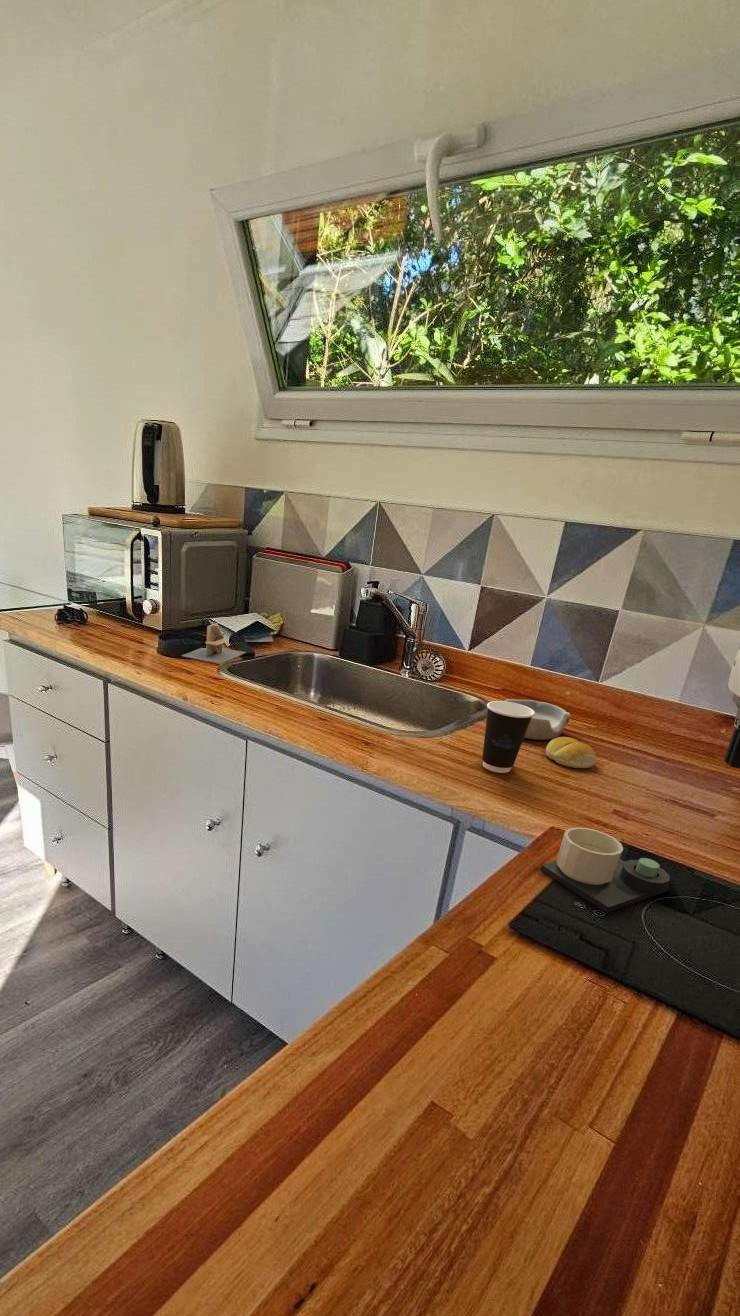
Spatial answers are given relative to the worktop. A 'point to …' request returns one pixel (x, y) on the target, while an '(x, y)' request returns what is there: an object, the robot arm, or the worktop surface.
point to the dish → (544, 719)
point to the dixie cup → (504, 734)
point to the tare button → (647, 867)
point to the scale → (614, 885)
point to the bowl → (589, 856)
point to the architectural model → (214, 648)
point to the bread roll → (571, 752)
